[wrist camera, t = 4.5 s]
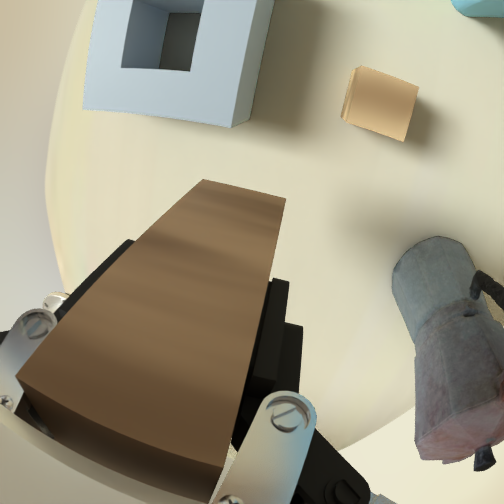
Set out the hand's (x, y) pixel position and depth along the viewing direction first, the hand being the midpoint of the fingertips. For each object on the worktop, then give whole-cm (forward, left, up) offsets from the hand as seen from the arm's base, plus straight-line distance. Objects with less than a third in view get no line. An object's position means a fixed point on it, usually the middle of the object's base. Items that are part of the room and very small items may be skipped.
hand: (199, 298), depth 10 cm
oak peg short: (+8, -6, -18) cm, 20 cm away
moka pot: (-5, -17, -18) cm, 26 cm away
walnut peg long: (0, 0, -6) cm, 6 cm away
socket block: (+10, +9, -18) cm, 22 cm away
